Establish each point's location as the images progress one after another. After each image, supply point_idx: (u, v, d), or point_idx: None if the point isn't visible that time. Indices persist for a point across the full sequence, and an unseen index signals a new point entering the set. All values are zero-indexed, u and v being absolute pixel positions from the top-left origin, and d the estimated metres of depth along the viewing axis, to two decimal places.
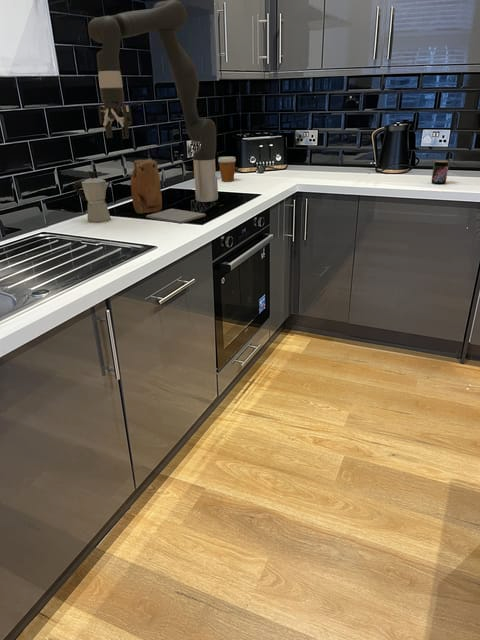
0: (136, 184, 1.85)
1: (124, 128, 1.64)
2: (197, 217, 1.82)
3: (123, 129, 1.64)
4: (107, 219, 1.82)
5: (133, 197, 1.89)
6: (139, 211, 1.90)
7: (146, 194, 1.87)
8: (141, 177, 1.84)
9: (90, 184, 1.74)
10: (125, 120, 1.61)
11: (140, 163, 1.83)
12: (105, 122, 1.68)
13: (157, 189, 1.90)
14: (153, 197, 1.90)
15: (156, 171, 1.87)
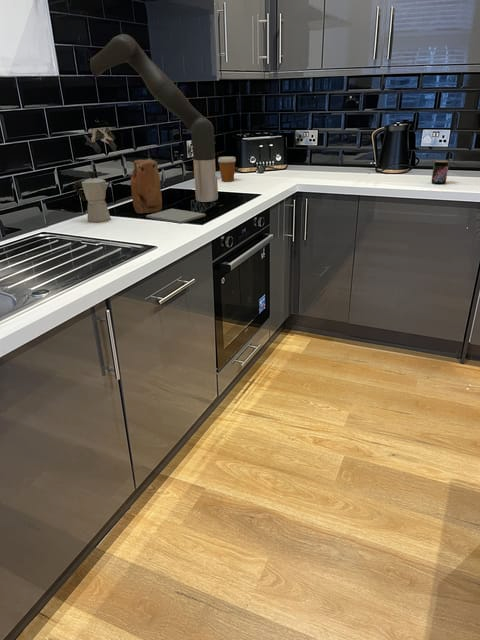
0: (136, 184, 1.85)
1: None
2: (197, 217, 1.82)
3: None
4: (107, 219, 1.82)
5: (133, 197, 1.89)
6: (139, 211, 1.90)
7: (146, 194, 1.87)
8: (141, 177, 1.84)
9: (90, 184, 1.74)
10: None
11: (140, 163, 1.83)
12: None
13: (157, 189, 1.90)
14: (153, 197, 1.90)
15: (156, 171, 1.87)
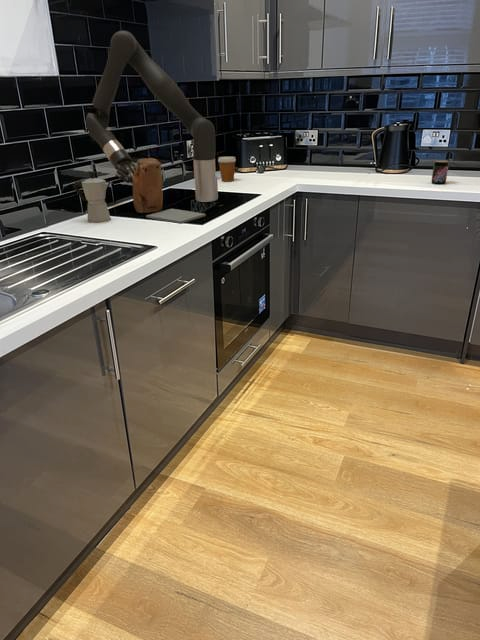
0: (138, 184, 1.84)
1: None
2: (197, 217, 1.82)
3: None
4: (107, 219, 1.82)
5: (134, 196, 1.88)
6: (139, 211, 1.90)
7: (148, 194, 1.87)
8: (144, 179, 1.83)
9: (90, 184, 1.74)
10: None
11: (144, 164, 1.81)
12: None
13: (159, 189, 1.89)
14: (155, 198, 1.89)
15: (159, 172, 1.86)
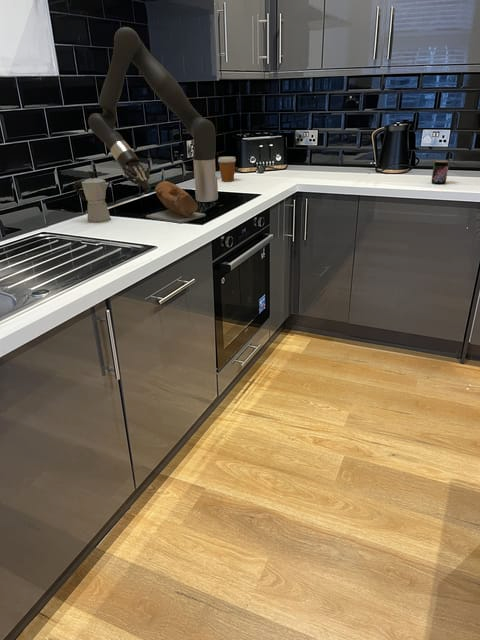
0: (165, 193, 1.79)
1: None
2: (197, 217, 1.82)
3: (142, 185, 1.90)
4: (107, 219, 1.82)
5: (164, 184, 1.83)
6: (155, 188, 1.87)
7: (163, 200, 1.84)
8: (168, 201, 1.79)
9: (90, 184, 1.74)
10: None
11: (176, 203, 1.75)
12: None
13: None
14: (166, 205, 1.87)
15: (180, 215, 1.82)
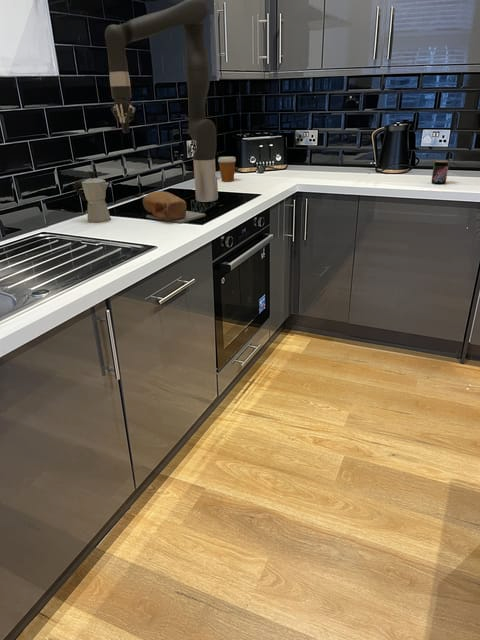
0: (154, 213, 1.80)
1: (125, 124, 1.92)
2: (197, 217, 1.82)
3: (124, 125, 1.92)
4: (107, 219, 1.82)
5: (147, 203, 1.83)
6: (144, 207, 1.88)
7: None
8: None
9: (90, 184, 1.74)
10: (127, 118, 1.90)
11: (168, 218, 1.76)
12: (121, 119, 1.92)
13: None
14: None
15: None
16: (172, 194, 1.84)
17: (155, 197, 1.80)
